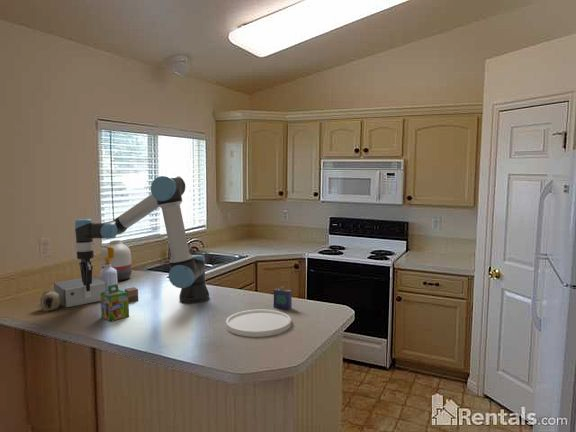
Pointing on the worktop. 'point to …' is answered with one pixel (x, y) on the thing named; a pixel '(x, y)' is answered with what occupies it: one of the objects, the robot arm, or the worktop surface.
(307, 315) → the worktop surface
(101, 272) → the soap bottle
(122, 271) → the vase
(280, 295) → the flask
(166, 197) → the robot arm
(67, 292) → the grey drawer
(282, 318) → the plate
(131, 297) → the block
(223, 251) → the worktop surface
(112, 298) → the chalk box
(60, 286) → the housing
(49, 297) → the garlic bulb
